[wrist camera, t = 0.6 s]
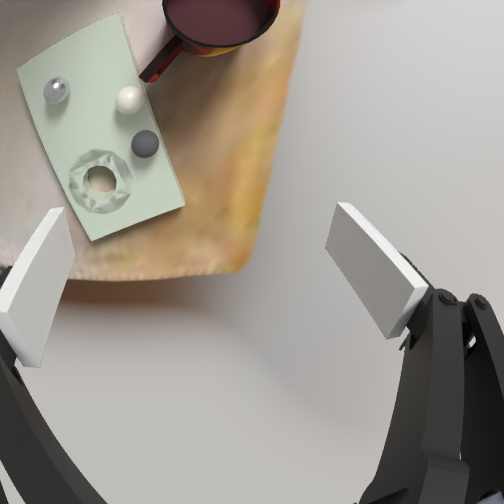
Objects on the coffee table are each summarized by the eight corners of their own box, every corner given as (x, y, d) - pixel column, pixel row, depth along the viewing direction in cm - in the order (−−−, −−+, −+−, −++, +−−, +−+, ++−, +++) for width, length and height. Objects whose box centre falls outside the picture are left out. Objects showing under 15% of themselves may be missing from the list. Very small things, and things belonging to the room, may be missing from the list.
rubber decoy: (129, 133, 30) (124, 139, 28) (155, 123, 30) (152, 128, 28) (139, 157, 32) (135, 166, 30) (163, 148, 32) (162, 155, 30)
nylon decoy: (109, 88, 26) (111, 106, 25) (137, 76, 26) (140, 93, 25) (120, 106, 29) (122, 124, 28) (145, 95, 29) (149, 112, 28)
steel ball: (46, 84, 24) (35, 86, 21) (68, 71, 24) (58, 72, 21) (54, 107, 26) (43, 110, 23) (76, 94, 26) (67, 97, 23)
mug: (148, 80, 29) (132, 82, 20) (183, -20, 23) (184, -57, 13) (225, 96, 33) (245, 106, 23) (260, 0, 26) (294, -27, 16)
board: (25, 68, 23) (16, 69, 21) (121, 15, 24) (117, 12, 22) (95, 232, 39) (91, 241, 37) (184, 197, 39) (184, 205, 37)
